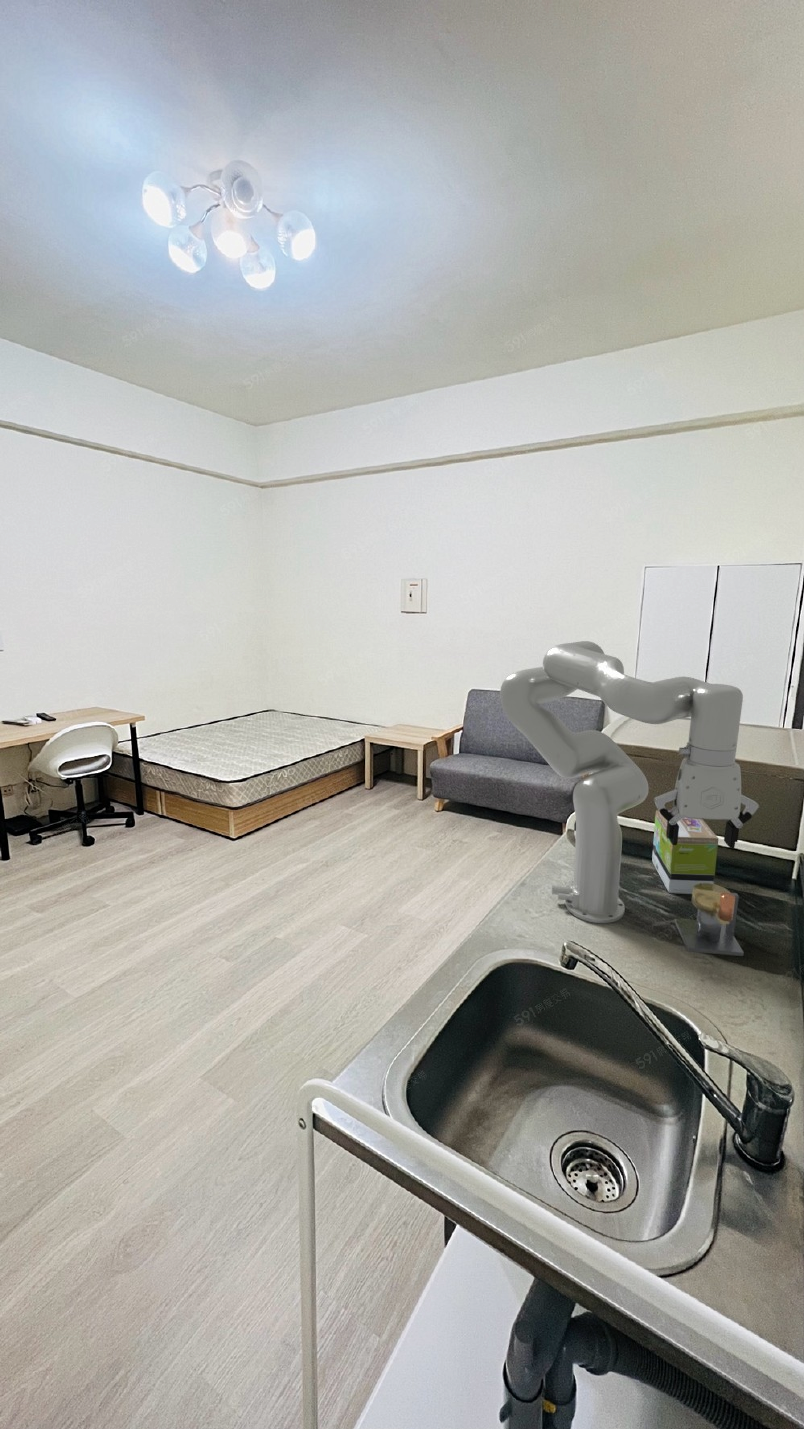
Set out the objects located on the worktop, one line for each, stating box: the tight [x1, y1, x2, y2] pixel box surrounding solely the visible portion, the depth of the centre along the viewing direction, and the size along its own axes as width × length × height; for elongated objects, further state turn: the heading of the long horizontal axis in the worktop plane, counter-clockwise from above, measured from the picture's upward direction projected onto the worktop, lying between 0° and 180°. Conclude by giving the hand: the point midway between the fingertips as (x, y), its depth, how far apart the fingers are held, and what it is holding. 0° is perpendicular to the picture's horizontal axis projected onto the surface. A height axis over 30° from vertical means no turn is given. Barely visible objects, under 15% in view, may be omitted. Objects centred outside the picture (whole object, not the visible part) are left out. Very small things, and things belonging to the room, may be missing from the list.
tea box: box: [651, 809, 719, 895], centre depth 139 cm, size 15×10×15 cm, turn 172°
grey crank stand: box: [674, 892, 745, 957], centre depth 117 cm, size 10×10×9 cm
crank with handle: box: [691, 883, 735, 924], centre depth 113 cm, size 12×7×7 cm, turn 169°
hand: (700, 843), depth 106 cm, fingers open, 9 cm apart
